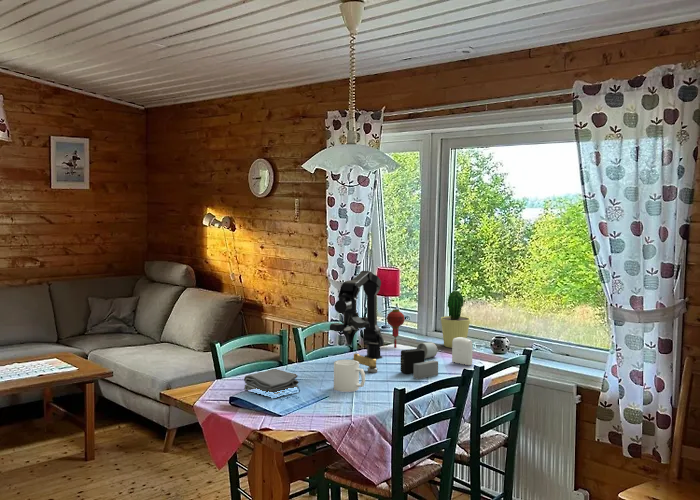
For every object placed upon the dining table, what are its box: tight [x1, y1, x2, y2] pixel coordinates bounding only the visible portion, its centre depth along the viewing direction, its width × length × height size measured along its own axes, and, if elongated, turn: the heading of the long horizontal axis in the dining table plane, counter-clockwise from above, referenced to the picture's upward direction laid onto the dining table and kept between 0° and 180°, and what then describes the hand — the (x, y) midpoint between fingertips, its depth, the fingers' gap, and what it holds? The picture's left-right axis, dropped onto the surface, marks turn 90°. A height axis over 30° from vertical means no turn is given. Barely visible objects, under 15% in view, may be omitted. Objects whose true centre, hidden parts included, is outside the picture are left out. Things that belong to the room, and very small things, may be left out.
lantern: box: [386, 308, 406, 349], centre depth 356 cm, size 10×10×30 cm
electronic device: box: [399, 348, 426, 375], centre depth 304 cm, size 4×10×10 cm, turn 115°
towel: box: [243, 368, 300, 394], centre depth 271 cm, size 15×18×8 cm
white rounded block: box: [451, 337, 474, 366], centre depth 323 cm, size 10×4×12 cm, turn 44°
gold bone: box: [353, 353, 377, 368], centre depth 309 cm, size 14×3×4 cm, turn 38°
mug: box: [333, 359, 366, 393], centre depth 276 cm, size 14×10×11 cm
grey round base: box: [367, 367, 378, 374], centre depth 305 cm, size 4×4×2 cm
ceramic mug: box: [416, 342, 439, 359], centre depth 336 cm, size 11×8×8 cm
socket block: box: [412, 359, 439, 380], centre depth 298 cm, size 3×12×6 cm, turn 128°
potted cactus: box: [440, 290, 471, 349], centre depth 362 cm, size 15×15×30 cm
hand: (349, 344), depth 307 cm, fingers closed
